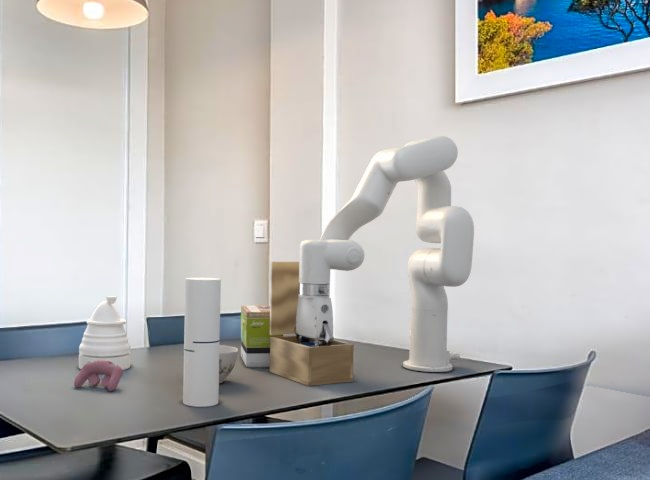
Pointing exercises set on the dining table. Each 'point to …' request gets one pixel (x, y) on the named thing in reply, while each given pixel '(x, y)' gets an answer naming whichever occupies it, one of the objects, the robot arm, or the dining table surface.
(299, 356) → the wooden box
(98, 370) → the video game controller
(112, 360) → the honey pot
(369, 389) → the dining table surface
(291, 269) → the lid
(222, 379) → the teacup
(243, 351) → the tea box
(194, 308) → the cylindrical container
